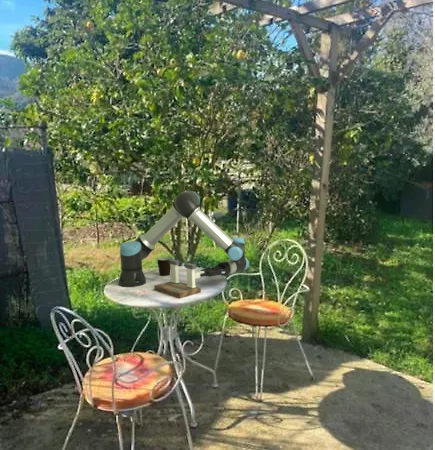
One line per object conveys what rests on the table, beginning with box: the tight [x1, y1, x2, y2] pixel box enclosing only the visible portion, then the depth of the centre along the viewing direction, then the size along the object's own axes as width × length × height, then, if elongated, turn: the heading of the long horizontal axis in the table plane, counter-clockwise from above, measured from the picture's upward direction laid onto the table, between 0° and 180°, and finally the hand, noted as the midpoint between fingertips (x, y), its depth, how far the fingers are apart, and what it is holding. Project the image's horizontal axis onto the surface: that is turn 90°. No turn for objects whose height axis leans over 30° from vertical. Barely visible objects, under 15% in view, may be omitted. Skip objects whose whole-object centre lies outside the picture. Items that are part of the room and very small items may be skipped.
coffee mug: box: [156, 256, 172, 277], centre depth 271 cm, size 12×9×10 cm
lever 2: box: [184, 262, 197, 288], centre depth 231 cm, size 3×6×12 cm, turn 43°
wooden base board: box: [153, 281, 202, 299], centre depth 234 cm, size 14×22×3 cm, turn 43°
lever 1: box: [169, 258, 181, 283], centre depth 241 cm, size 3×6×12 cm, turn 43°
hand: (194, 275), depth 232 cm, fingers closed
